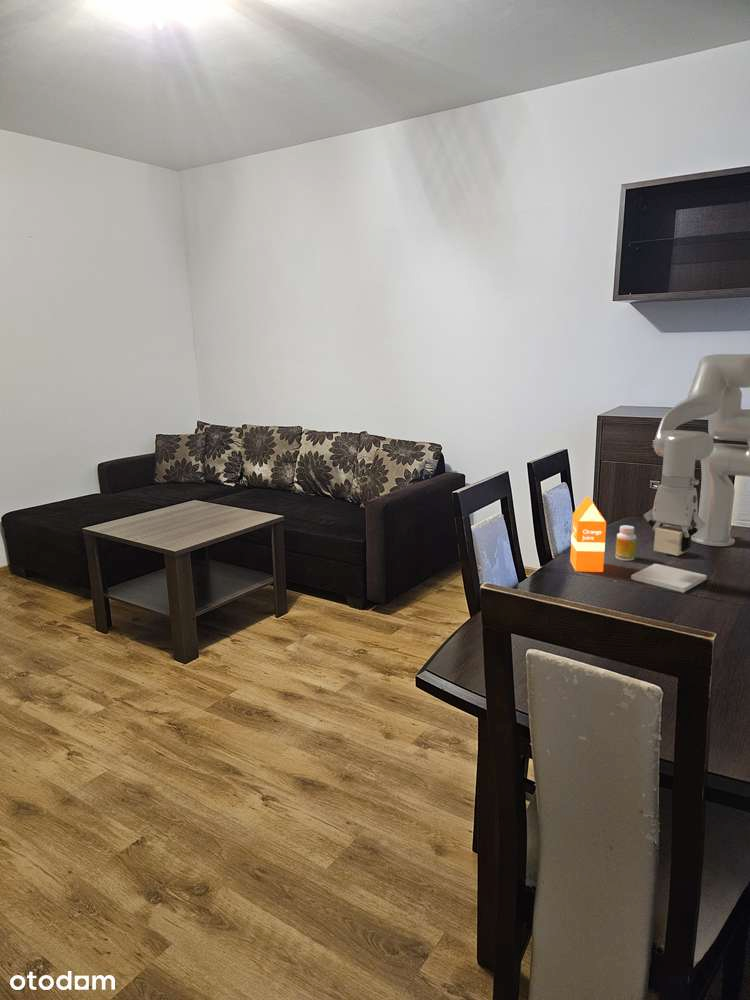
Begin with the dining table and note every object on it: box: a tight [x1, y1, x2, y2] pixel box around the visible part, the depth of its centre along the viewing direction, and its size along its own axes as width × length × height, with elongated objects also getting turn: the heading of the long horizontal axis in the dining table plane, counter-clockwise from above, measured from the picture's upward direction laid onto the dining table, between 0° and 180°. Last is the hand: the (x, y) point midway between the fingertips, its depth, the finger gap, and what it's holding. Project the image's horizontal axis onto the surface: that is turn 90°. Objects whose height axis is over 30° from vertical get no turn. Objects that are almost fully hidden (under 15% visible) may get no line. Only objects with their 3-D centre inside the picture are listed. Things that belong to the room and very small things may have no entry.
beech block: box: [653, 524, 689, 556], centre depth 170 cm, size 6×6×6 cm
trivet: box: [630, 562, 708, 594], centre depth 172 cm, size 14×14×1 cm
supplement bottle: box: [614, 524, 637, 562], centre depth 190 cm, size 5×5×10 cm
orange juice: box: [569, 495, 607, 573], centre depth 182 cm, size 8×9×20 cm
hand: (671, 547), depth 170 cm, fingers closed on beech block, 6 cm apart
